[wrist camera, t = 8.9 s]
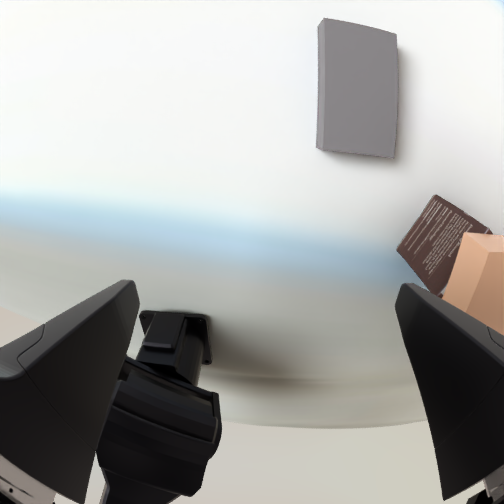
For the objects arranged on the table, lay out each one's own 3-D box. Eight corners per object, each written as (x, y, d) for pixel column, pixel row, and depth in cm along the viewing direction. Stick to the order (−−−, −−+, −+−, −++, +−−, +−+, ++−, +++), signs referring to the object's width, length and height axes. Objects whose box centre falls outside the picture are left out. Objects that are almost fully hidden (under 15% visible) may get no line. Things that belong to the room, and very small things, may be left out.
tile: (489, 316, 16) (505, 335, 13) (429, 326, 16) (444, 351, 13) (521, 237, 12) (542, 253, 10) (463, 232, 13) (488, 252, 10)
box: (467, 229, 20) (515, 268, 13) (430, 278, 22) (469, 327, 16) (433, 191, 19) (490, 226, 12) (392, 248, 21) (435, 300, 15)
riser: (381, 154, 18) (394, 158, 16) (316, 147, 18) (322, 150, 16) (384, 39, 14) (396, 33, 12) (317, 26, 14) (323, 17, 12)
